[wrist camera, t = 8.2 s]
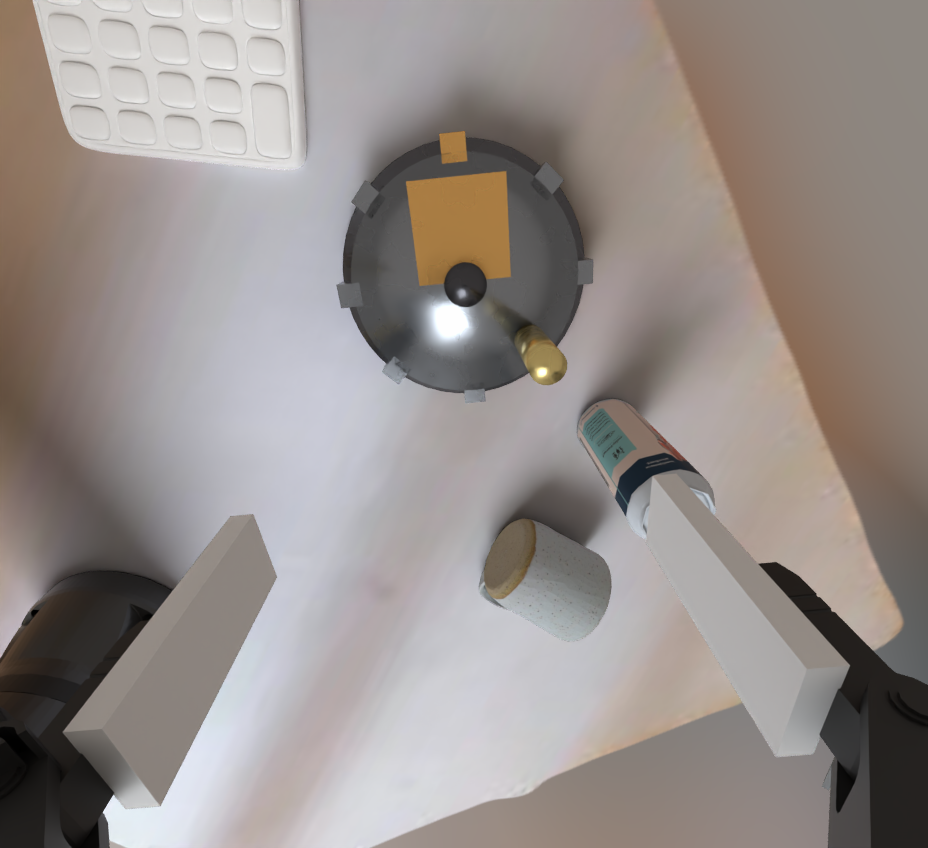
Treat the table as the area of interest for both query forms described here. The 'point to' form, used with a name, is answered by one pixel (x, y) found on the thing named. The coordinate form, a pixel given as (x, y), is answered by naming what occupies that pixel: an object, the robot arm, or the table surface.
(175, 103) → the calculator
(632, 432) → the beer can
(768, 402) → the table surface
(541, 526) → the ceramic mug
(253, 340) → the table surface
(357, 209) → the hub plate
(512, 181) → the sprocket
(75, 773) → the robot arm
